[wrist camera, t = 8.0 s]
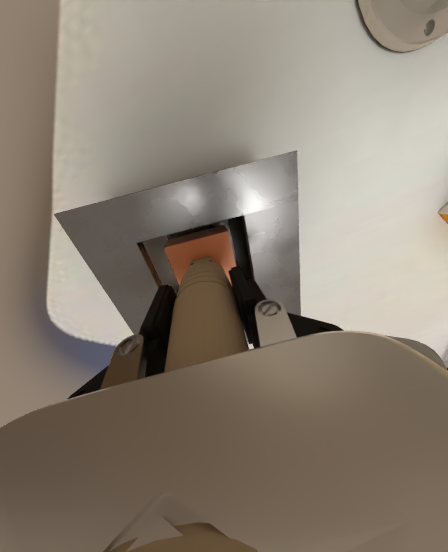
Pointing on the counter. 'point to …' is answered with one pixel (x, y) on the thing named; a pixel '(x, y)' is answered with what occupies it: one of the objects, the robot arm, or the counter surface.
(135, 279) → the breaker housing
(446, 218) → the packaging box
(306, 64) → the counter surface
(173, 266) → the button
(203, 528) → the handle
